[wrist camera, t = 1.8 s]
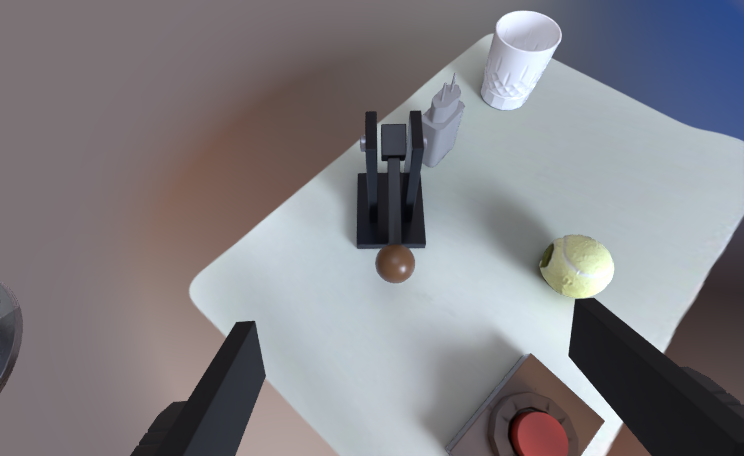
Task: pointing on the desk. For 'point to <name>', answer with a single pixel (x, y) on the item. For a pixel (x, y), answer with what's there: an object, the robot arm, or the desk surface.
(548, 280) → the tennis ball
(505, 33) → the white cup
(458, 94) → the power adapter
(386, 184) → the bracket
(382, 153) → the lever
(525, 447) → the button
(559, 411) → the button block
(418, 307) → the desk surface
